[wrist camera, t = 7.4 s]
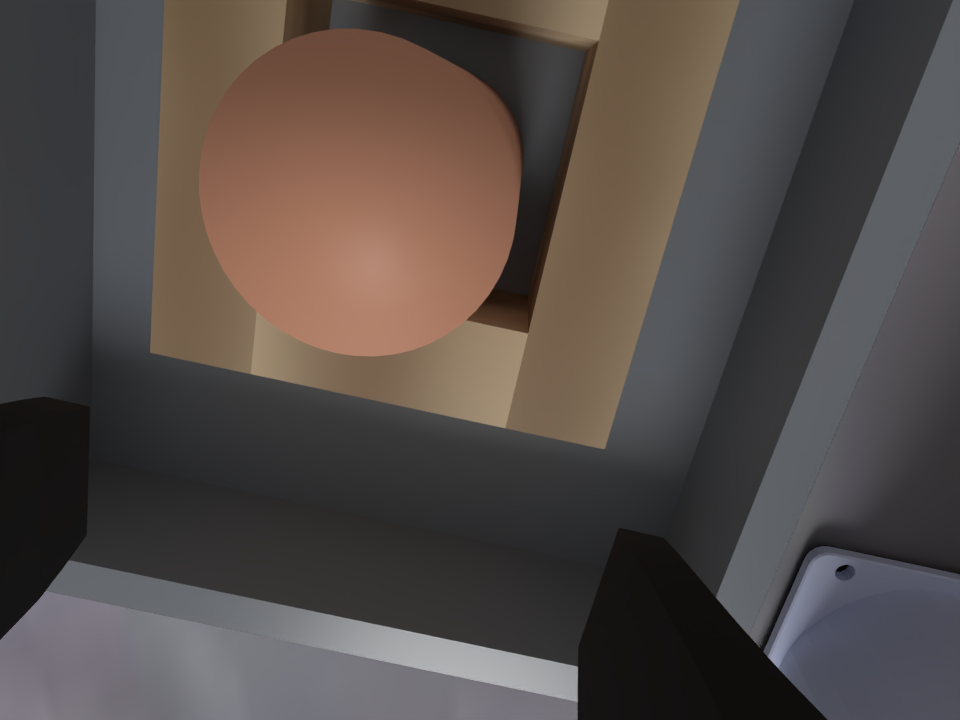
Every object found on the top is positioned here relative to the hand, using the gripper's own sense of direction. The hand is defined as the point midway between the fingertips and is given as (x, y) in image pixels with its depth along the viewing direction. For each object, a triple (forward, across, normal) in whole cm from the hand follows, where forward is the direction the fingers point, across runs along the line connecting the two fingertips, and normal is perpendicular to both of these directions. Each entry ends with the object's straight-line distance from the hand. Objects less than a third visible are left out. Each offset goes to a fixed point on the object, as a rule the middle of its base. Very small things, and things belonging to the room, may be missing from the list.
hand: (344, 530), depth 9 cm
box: (+9, +1, -2) cm, 10 cm away
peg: (+9, +1, -4) cm, 10 cm away
